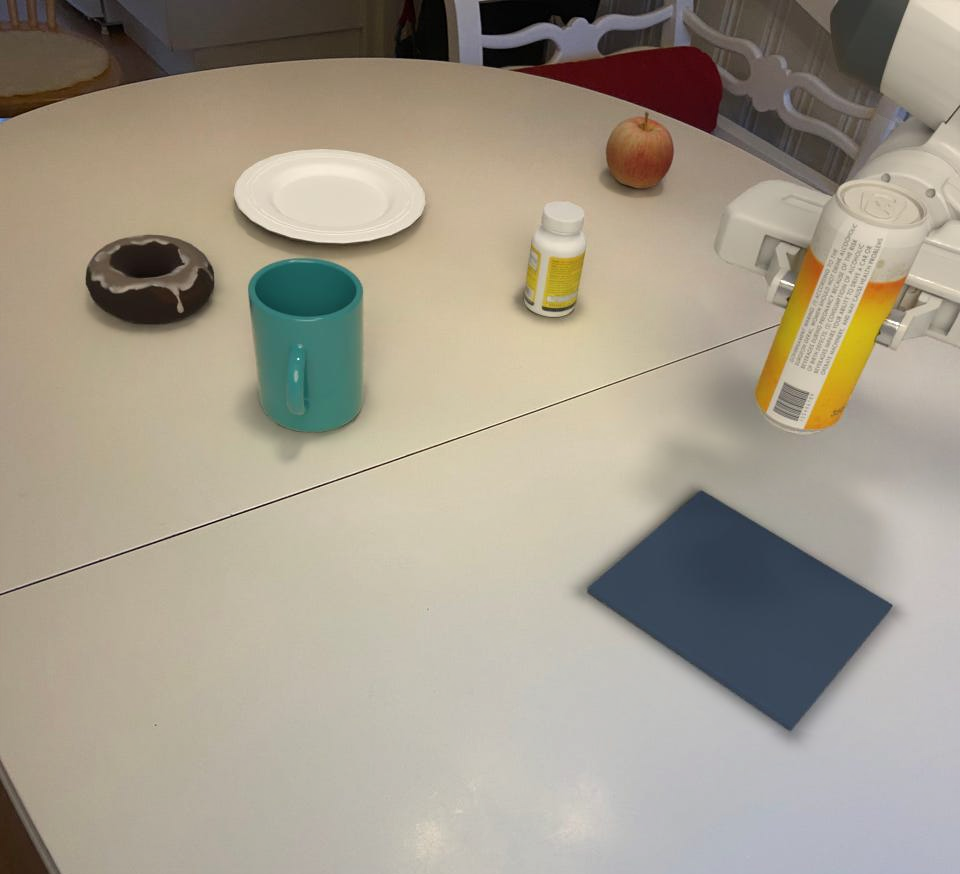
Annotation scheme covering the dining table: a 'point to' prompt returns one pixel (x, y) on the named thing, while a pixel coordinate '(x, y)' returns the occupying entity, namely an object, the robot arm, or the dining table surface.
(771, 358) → the beer can
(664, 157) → the apple
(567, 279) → the supplement bottle
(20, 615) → the dining table surface
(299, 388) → the cup
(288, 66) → the dining table surface
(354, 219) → the plate
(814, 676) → the can mat
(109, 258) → the donut
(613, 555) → the dining table surface
